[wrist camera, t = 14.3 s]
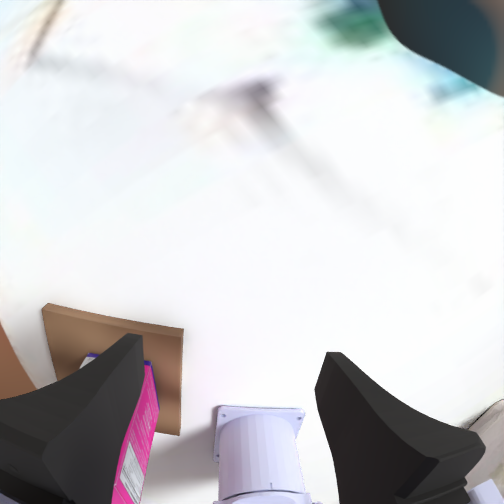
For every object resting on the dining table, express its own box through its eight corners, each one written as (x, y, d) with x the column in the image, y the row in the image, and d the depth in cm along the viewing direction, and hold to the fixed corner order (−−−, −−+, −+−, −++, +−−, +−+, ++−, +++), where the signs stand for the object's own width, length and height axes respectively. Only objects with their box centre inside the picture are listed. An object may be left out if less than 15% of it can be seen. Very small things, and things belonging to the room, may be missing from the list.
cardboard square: (181, 421, 27) (179, 435, 25) (73, 397, 26) (66, 409, 24) (185, 323, 23) (181, 337, 21) (52, 298, 22) (41, 309, 20)
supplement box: (102, 401, 23) (61, 499, 13) (87, 350, 22) (26, 455, 11) (162, 410, 24) (137, 521, 13) (153, 360, 22) (113, 484, 11)
